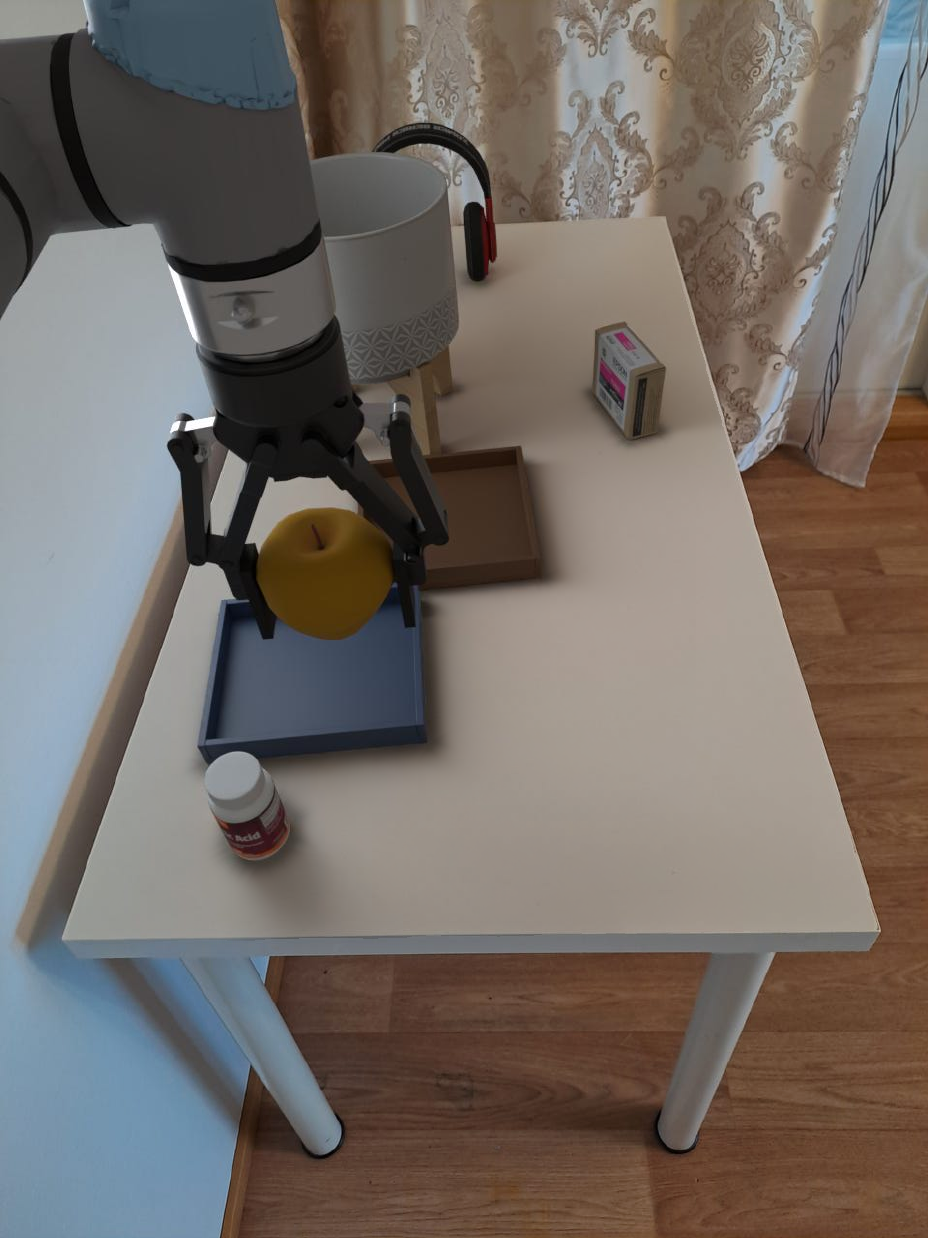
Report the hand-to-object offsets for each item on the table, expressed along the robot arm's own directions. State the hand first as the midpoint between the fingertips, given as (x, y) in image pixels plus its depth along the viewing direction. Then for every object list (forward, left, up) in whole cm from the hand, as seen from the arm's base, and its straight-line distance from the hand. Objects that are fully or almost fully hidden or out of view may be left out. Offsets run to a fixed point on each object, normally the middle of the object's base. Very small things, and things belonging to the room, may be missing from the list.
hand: (339, 618), depth 63 cm
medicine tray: (+7, +25, -15) cm, 31 cm away
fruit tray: (-5, +7, -15) cm, 18 cm away
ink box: (+28, +41, -15) cm, 53 cm away
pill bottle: (-9, -8, -15) cm, 19 cm away
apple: (0, 0, 0) cm, 0 cm away
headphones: (+8, +76, -15) cm, 78 cm away
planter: (+1, +44, -15) cm, 47 cm away
